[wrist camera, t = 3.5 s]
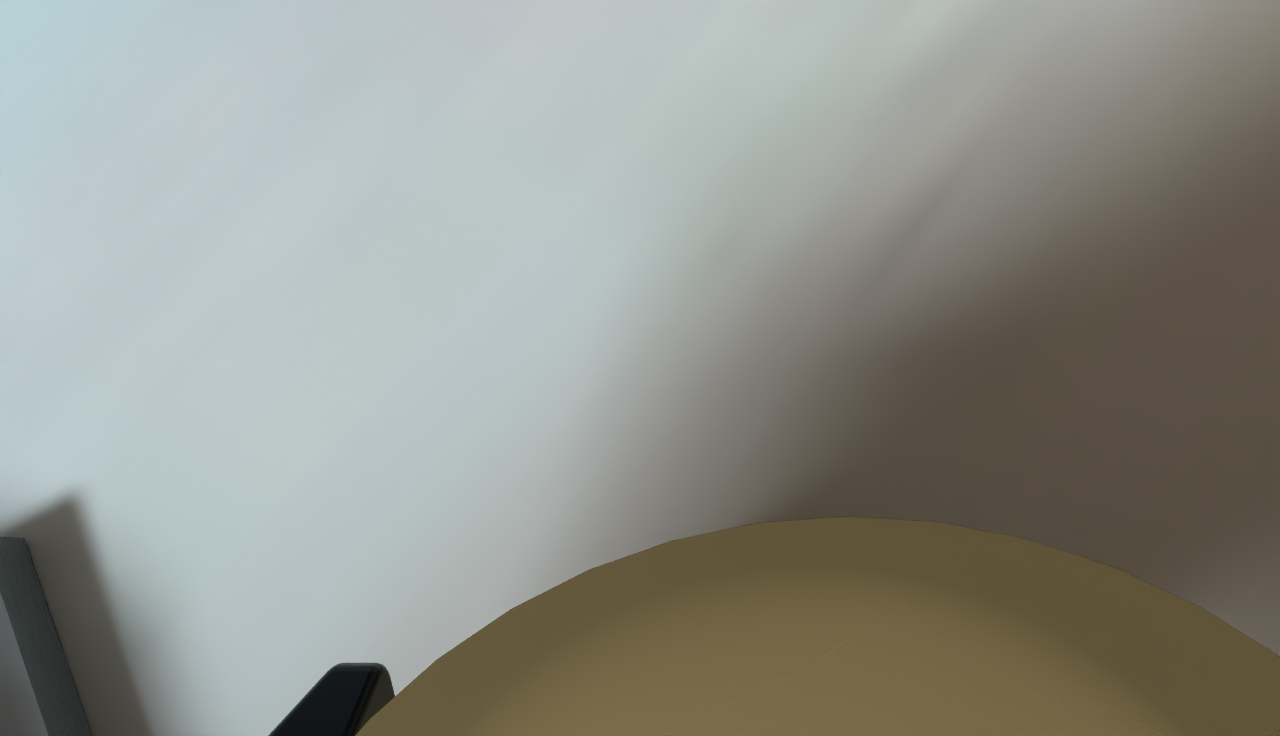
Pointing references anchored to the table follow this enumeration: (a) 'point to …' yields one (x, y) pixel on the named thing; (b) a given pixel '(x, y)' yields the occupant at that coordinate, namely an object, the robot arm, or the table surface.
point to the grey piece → (32, 656)
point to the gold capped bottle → (847, 645)
